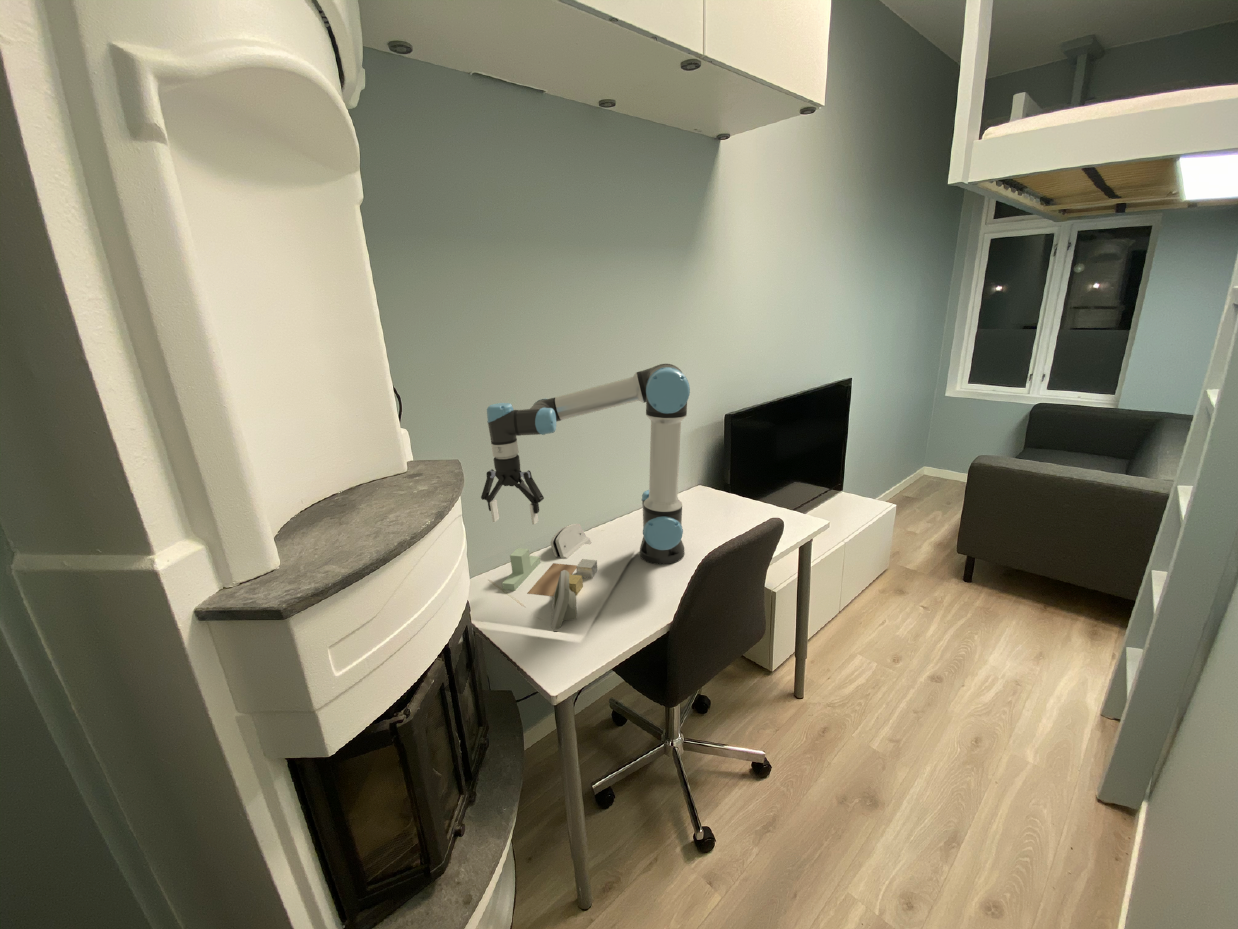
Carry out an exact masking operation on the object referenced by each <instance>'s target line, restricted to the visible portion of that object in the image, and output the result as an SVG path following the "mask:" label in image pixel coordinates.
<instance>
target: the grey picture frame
mask: <svg viewBox="0 0 1238 929" xmlns="http://www.w3.org/2000/svg"><path fill="white" fill-rule="evenodd" d="M551 608H552V609H551V623H550V628H551V629H553V631H552V632H554V633H557V632H558V631H556V630H557V629H560V628H561V627H562V624H563V621H570V620H571V621H572V620H577V617H578V616H577V614H578V613H577V595H575V593H574V592H572V591H571V590H570V589H569V572H568V571H566V570H563V571H561V573H560V576H559V580H558V583H557V587H556V590H555V593H554V597H553V596H552V607H551Z"/></svg>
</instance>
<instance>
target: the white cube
mask: <svg viewBox="0 0 1238 929" xmlns="http://www.w3.org/2000/svg"><path fill="white" fill-rule="evenodd" d="M598 567H599V566H598V560H597V559H584V558H582V559H581V560H580V561H579V562H578V564H577V566H576V575H581V576H582V579H591V580H592V579H593V578H594V577H595V576H596V574H597V573H598V572H599V568H598Z"/></svg>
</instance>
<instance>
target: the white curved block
mask: <svg viewBox="0 0 1238 929" xmlns="http://www.w3.org/2000/svg"><path fill="white" fill-rule="evenodd" d="M591 544H592V540H591V538H590V537H588V536H587V535H586V533H585V531H584V529H583V527H582V525H581V524H580V523H572V524H570V525H566V526H564V527H562V528H560V529H559V530H557V532H556V533H555V534H554V535H553V537H552V538H551V540H550V545H551V546H550V547H551V549H552V552H553V554H554V555H553V556H554V557H556V558H560V559H569V558H570V557H571V556H572V555H573V554H574V553H575V552H577V551H578V550H579V549H580V548H582V546H584V545H591Z"/></svg>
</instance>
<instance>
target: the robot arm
mask: <svg viewBox="0 0 1238 929" xmlns="http://www.w3.org/2000/svg"><path fill="white" fill-rule="evenodd" d="M690 391H691V388H690V383H689V380H688V378H687V377H686V375H685V374H684V373H683V371H682V370H681V369H680V368H679V367H678V366H676V365H674V364H671V363H661V364H660V363H659V364H657V365H655V366H652V367H649V368H645V369H643V370H640V371H636V372H635V373H634V375H633V376H630V377H627V378H624V379H620V380H615V381H610V382H609V383H604V384H600V385H597V386H596V385H595V386H592V387H589V388H584V389H582V390H581V389H580V390H577V391H573V392H570V393H569V392H568V393H565V394H562V395H557V396H555V397H551V398H550V397H549V398H542V399H541V398H540V399H538V400H537V401H535V402H534V404H532V406H531V407H530V408H526V409H514V407H513V405H512V403H510V402H499V403H494V404H490V405H488V407H487V408H486V416H487V425H488V426H487V427H488V430H489V431H488V432H489V436H490V445H491V450H492V456H493V457H494V458H493V466H494V469H495V470H494V469H493V468H491V469H489V470H488V471H486V480H485V483H484V486H483V490H482V493H481V496H480V499H481V500H484V501H486V502H487V508H488V510H489V512H491V513H490V514H491V520H492V523H496V522H497V521H499V519H500V515H499V507H498V500H497V499H495V497H496V496H497V494H498V493H499V491H500V490H501V488H502V486H504V487H515V488H516V489H518V490H519V491H520V492H521V493H522V494H523V495H524V496H525V497H526V498H527V500H528V501H529V502H530V503H529V511H530V518H531V525H536V524H537V523H538V522H539V517H538V513H539V512H540V506H539V505H540V504H539V503H541V502H542V501H543V500H544V499H545V497H544V495H543V493H542V492H541V490H540V488H539V487H538V485H537V484H536V482H535V479H534V478H533V476H532V472H531V470H526V471H522V470H521V459H520V455H519V446H518V438H517V436H520V437H521V436H537V435H543V436H545V435H549V434H554V433H555V432H556V430H557V422H560V421H564V420H568V419H571V418H576V417H579V416H583V415H588V414H591V413H596V412H599V411H603V410H608V409H612V408H615V407H619V406H622V405H623V406H624V405H627V404H630V403H631V404H632V403H635V402H641V403H642V404H643V403H645V415H646V417H647V418H648V419H649V420H650V446H649V447H650V450H649V452H650V453H649V480H648V483H649V484H648V485H649V486H648V489H647V490H645V491H643V492H642V493H641V494H642V495H641V501H642V502H641V504H642V521H643V522H642V526H643V528H642V540H641V542H640V547H639V557H640V558H641V559H642V560H643V561H644V562H647V563H650V564H652V565H653V564H654V565H669V564H674V563H676V562H679V561H681V560H682V559H683V558H684V556H685V554H686V553H685V546H684V543H683V540H682V538H683V534H684V528H683V526H682V522H683V521H682V520H683V519H682V517H683V502H682V501H681V500H680V499H679V497H678V495H679V473H680V472H679V471H680V453H681V452H680V451H681V429H682V428H681V427H682V425H681V424H682V421H683V420H684V419H685V418H686V417H687V412H688V401H689V397H690V393H691V392H690ZM495 478H496V479H497V482H496V484H495V486H494V487H493V489H492V486H493V484H494V483H493V482H494V479H495ZM491 489H492V490H491Z"/></svg>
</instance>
